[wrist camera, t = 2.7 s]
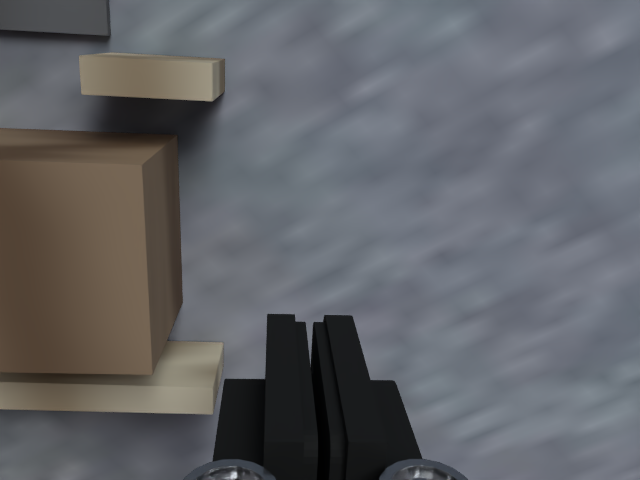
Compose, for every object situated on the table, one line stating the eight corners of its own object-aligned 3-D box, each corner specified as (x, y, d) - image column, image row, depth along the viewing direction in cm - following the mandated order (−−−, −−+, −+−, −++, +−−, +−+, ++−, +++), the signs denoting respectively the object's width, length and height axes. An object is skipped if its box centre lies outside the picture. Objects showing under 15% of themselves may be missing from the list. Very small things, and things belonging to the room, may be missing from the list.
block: (178, 134, 20) (141, 164, 15) (183, 301, 22) (152, 374, 17) (-10, 127, 20) (-107, 156, 15) (12, 297, 21) (-67, 371, 17)
